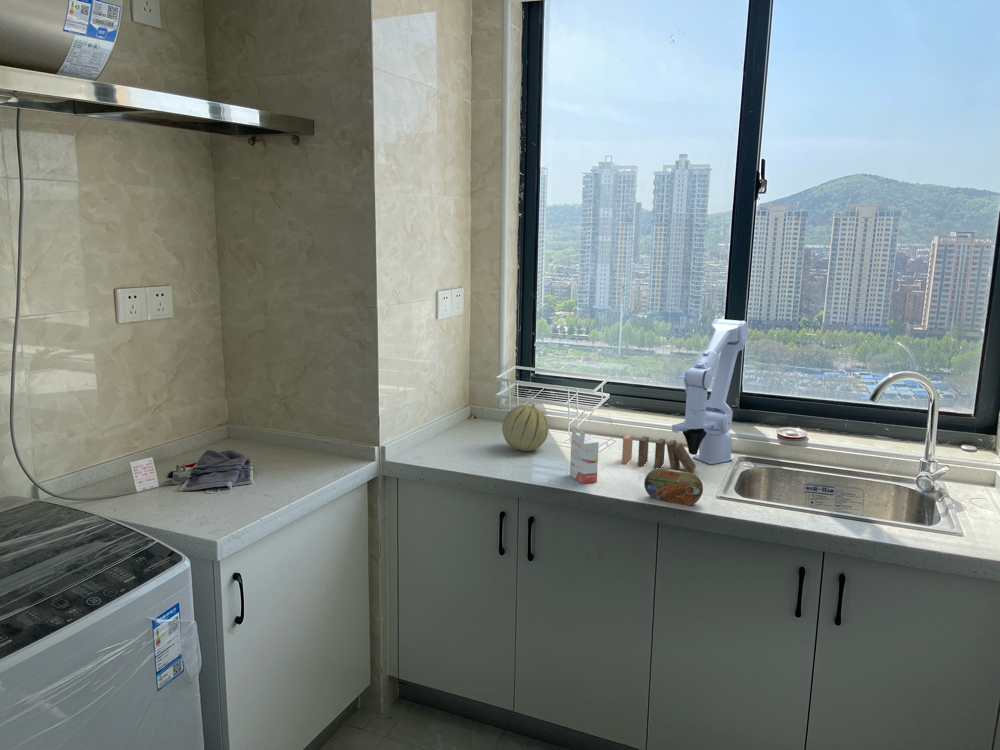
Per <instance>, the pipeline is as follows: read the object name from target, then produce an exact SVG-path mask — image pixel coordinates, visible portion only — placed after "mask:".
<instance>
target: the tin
mask: <svg viewBox="0 0 1000 750" xmlns="http://www.w3.org/2000/svg"><path fill="white" fill-rule="evenodd" d="M644 489H645V491H646V494H647V495H649V497H651V498H652V499H653V500H656V501H660V502H666V503H672V504H678V505H683V506H691V505H694V504H696V503H697V502H698V501H699V500H700V499H701V497H702V495H703V493H704V486H703V482H702V480H701V478H699V477H698V475H696V474H694V473H692V472H686V471H684V470H683V471H682V470H678V469H677V470H671V468H663V467H661V468H658V469H655V468H654V469H653V470H650V471H649V472H648V473H647V474H646V476H645V478H644Z"/></svg>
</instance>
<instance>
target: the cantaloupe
mask: <svg viewBox="0 0 1000 750" xmlns="http://www.w3.org/2000/svg"><path fill="white" fill-rule="evenodd" d="M535 406H536V405H535V403H532V404H531V405H527V404H526V405H525V404H521V405H520V404H519V405H517V406H514V407H513V408H511V409H510V410H509V411H508V412H507V413H506V414H505V416H504V419H503V420H502V428H501V429H502V434H503V438H504V440H505V442H506V443H507V444H508V445H509V446H511V447H512V448H514V449H516V450H518V451H523V452H530V451H534V450H537V449H539V448H540V447H541V446H542V445H543V444H544V442H546V440H547V438H548V434H549V429H550V428H549V422H548V419H547V417H546V415H545V414H544V413H543V411H541V410H540V409H538V408H537V407H535Z"/></svg>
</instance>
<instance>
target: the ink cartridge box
mask: <svg viewBox="0 0 1000 750" xmlns="http://www.w3.org/2000/svg"><path fill="white" fill-rule="evenodd" d="M577 433H578V434H577ZM599 443H600V442H599V441H597V440H595V439H594V438H592V437H590V436H588V435H587V434H586V433H585V432H584V431H583V430H581V429H579V428H578V427H576V426H574V425H573V426H572V429H571V437H570V459H569V461H570V462H569V463H570V464H569V475H570V476H571V477H572V476H573V478H574V479H575V480H577V481H578V482H579V481H580V483H581V484H582V483H583V484H591V483H592V482H593V483H597V482H598V464H599Z"/></svg>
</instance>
